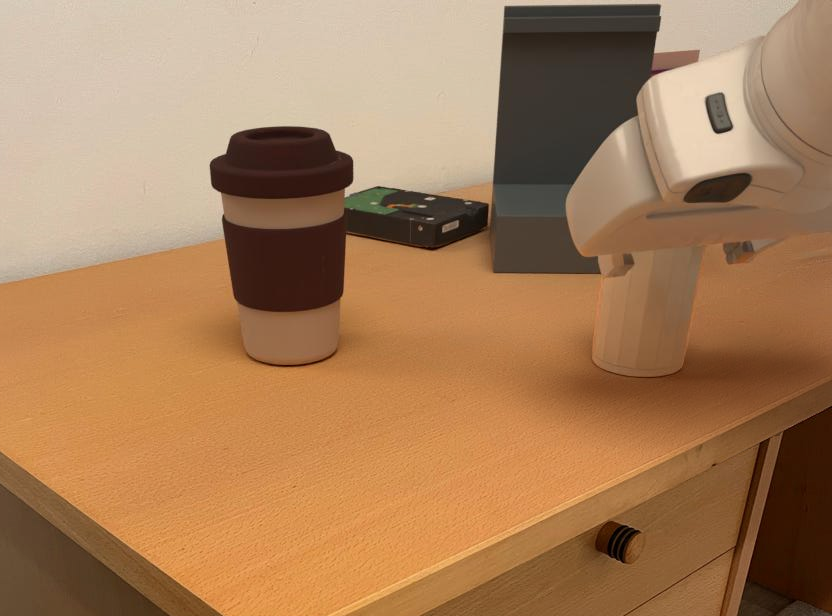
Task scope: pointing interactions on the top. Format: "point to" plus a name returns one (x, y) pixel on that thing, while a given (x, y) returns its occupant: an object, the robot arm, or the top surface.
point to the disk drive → (413, 216)
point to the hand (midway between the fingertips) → (672, 261)
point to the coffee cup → (285, 239)
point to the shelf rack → (559, 120)
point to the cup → (648, 313)
